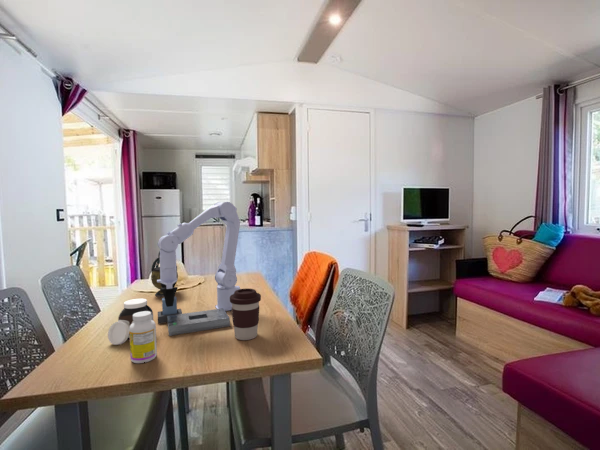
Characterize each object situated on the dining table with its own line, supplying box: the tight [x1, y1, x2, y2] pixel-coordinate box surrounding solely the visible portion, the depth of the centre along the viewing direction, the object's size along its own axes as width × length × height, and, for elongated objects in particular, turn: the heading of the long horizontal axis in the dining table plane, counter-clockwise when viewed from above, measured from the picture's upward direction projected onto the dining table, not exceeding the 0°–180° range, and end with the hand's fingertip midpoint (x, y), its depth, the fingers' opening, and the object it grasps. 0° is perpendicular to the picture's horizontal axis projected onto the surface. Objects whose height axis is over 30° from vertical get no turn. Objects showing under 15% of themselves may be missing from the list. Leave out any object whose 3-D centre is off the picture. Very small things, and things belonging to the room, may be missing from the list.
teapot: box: [150, 250, 179, 298], centre depth 153 cm, size 12×25×23 cm, turn 18°
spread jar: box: [107, 297, 155, 346], centre depth 104 cm, size 12×11×12 cm
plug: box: [161, 296, 178, 315], centre depth 122 cm, size 5×3×8 cm, turn 114°
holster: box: [157, 308, 183, 324], centre depth 122 cm, size 8×6×2 cm
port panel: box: [167, 308, 231, 337], centre depth 116 cm, size 20×12×3 cm, turn 114°
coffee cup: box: [230, 288, 262, 341], centre depth 105 cm, size 10×10×15 cm
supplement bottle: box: [129, 311, 158, 364], centre depth 90 cm, size 7×7×13 cm
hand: (169, 303), depth 122 cm, fingers open, 7 cm apart
